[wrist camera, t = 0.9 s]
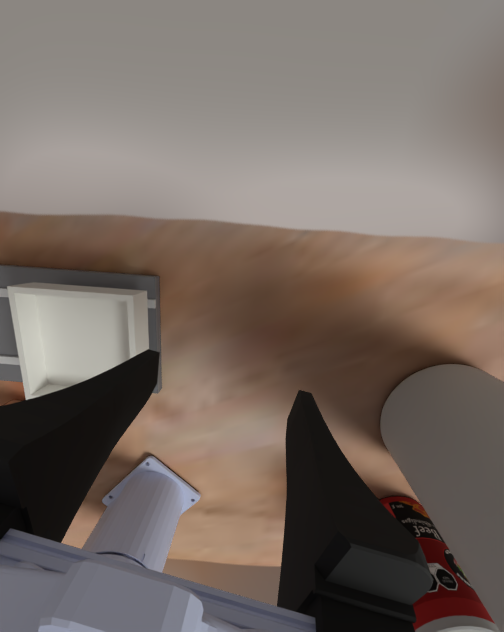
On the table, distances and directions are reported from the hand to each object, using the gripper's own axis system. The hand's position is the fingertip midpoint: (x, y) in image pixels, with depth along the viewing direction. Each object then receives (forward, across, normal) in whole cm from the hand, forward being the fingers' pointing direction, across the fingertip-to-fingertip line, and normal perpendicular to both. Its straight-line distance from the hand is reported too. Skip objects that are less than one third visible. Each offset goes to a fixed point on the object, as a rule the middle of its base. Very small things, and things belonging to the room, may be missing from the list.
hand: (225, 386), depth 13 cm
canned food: (+10, -22, +22) cm, 33 cm away
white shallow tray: (+10, +13, +7) cm, 18 cm away
